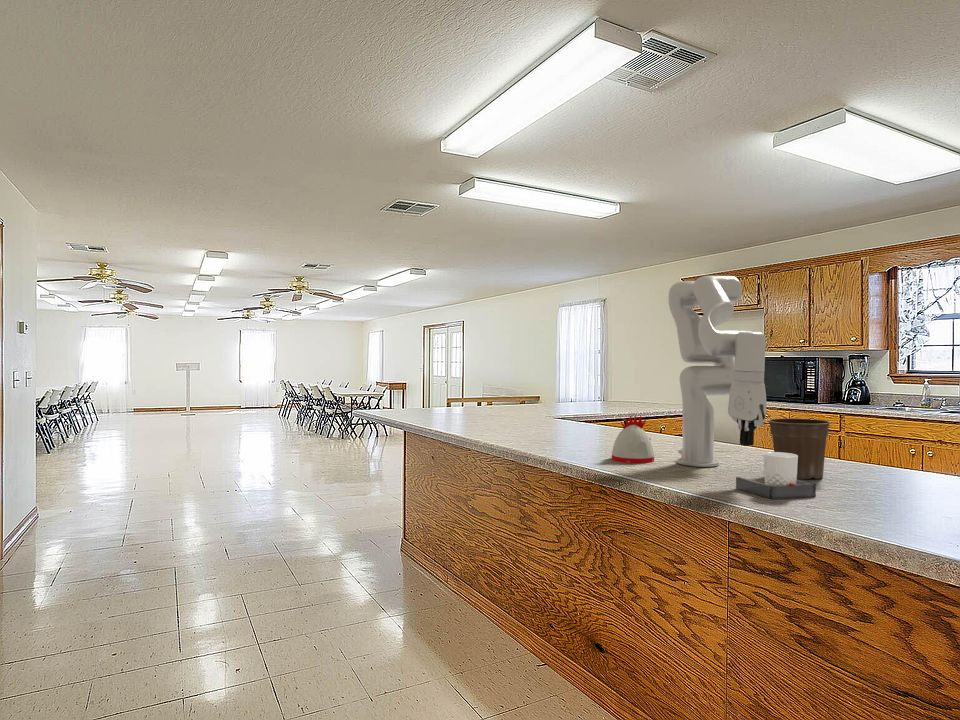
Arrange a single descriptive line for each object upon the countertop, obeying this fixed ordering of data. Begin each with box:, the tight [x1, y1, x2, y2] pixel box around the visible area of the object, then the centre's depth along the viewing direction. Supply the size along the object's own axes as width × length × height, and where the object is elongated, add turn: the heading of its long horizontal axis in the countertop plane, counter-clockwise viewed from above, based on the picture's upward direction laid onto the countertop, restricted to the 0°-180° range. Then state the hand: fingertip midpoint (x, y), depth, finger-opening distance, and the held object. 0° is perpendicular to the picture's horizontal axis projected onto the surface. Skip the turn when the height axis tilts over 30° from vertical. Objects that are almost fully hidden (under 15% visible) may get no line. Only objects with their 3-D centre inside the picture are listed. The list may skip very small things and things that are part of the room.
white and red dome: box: [611, 415, 655, 464], centre depth 208 cm, size 14×14×15 cm
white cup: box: [762, 451, 798, 486], centre depth 156 cm, size 8×8×10 cm
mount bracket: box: [735, 476, 817, 500], centre depth 158 cm, size 13×13×3 cm
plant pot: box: [767, 417, 832, 480], centre depth 180 cm, size 16×16×16 cm
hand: (746, 444), depth 168 cm, fingers closed
